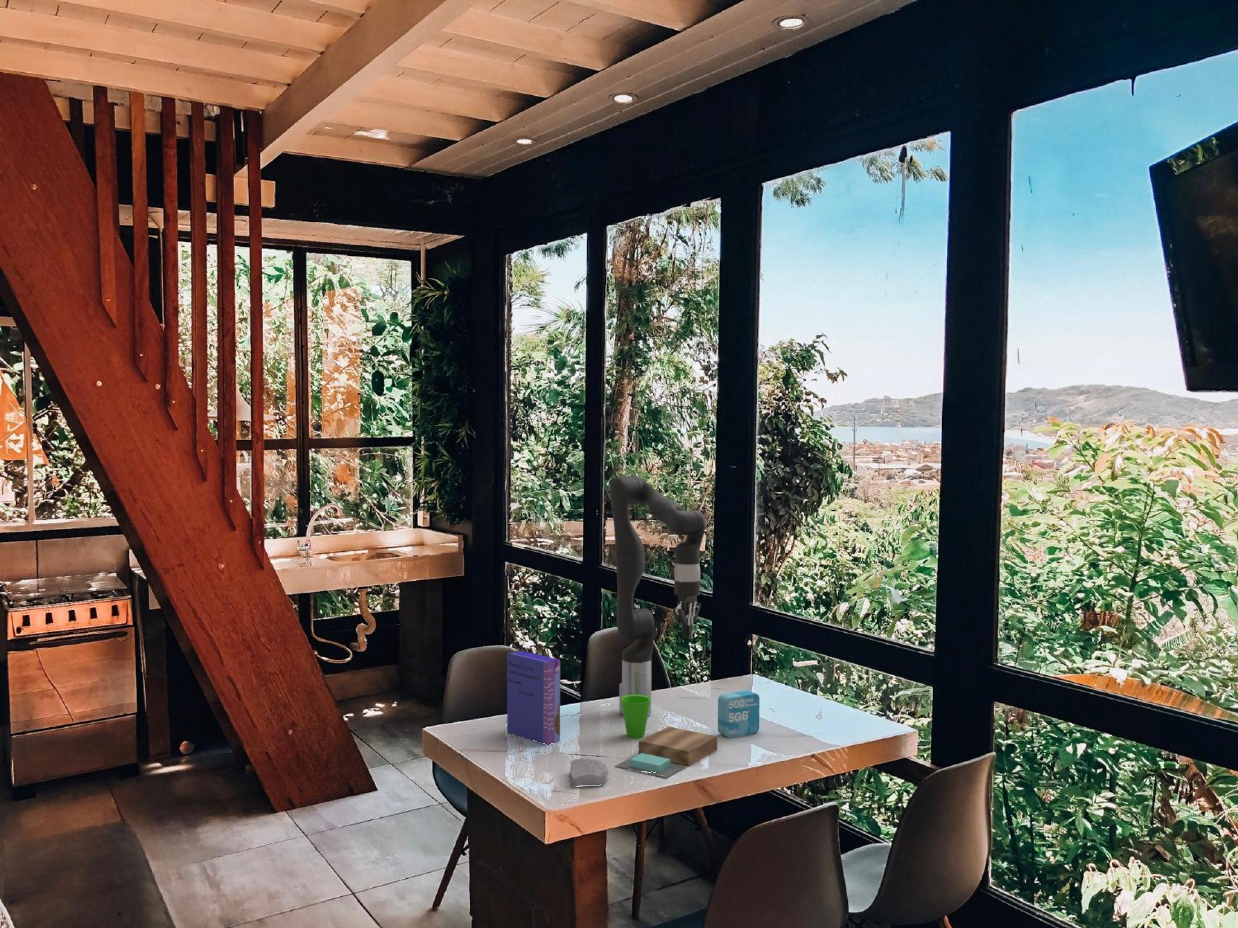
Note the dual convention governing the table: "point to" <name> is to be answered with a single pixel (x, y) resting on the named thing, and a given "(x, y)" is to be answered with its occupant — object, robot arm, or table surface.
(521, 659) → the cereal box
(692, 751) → the wooden block
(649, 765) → the teal flat block
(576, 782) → the stone block
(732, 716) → the data package
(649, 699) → the cup
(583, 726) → the table surface
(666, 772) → the mat
